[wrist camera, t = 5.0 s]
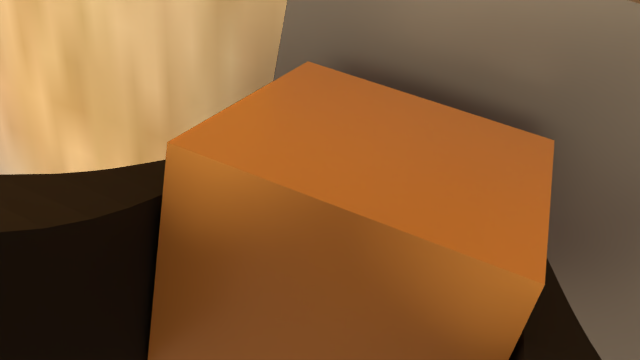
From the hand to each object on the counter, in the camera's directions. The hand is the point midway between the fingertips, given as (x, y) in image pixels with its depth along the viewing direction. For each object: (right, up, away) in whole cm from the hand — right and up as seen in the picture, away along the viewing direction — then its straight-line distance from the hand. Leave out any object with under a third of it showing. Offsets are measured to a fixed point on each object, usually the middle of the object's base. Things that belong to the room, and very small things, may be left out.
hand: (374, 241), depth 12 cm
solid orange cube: (0, +1, +1) cm, 1 cm away
